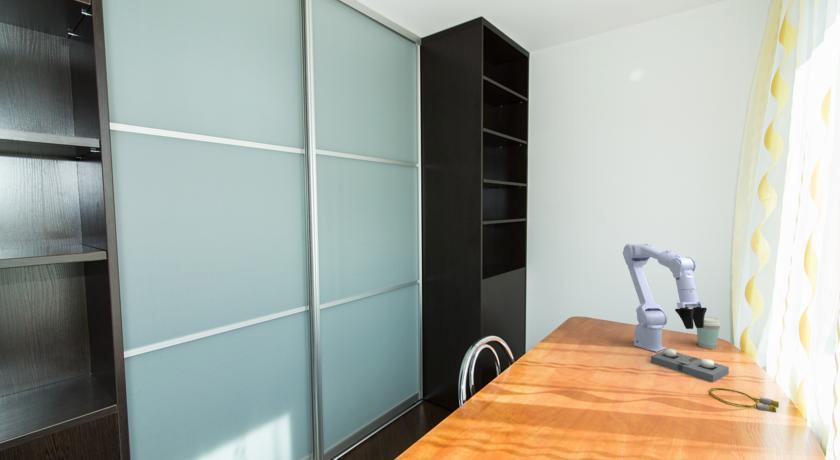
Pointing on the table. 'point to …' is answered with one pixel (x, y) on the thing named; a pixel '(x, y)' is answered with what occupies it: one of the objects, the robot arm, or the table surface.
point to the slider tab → (684, 359)
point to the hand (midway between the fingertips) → (694, 328)
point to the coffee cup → (708, 333)
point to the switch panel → (691, 366)
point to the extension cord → (763, 400)
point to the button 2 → (707, 363)
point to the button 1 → (670, 352)
